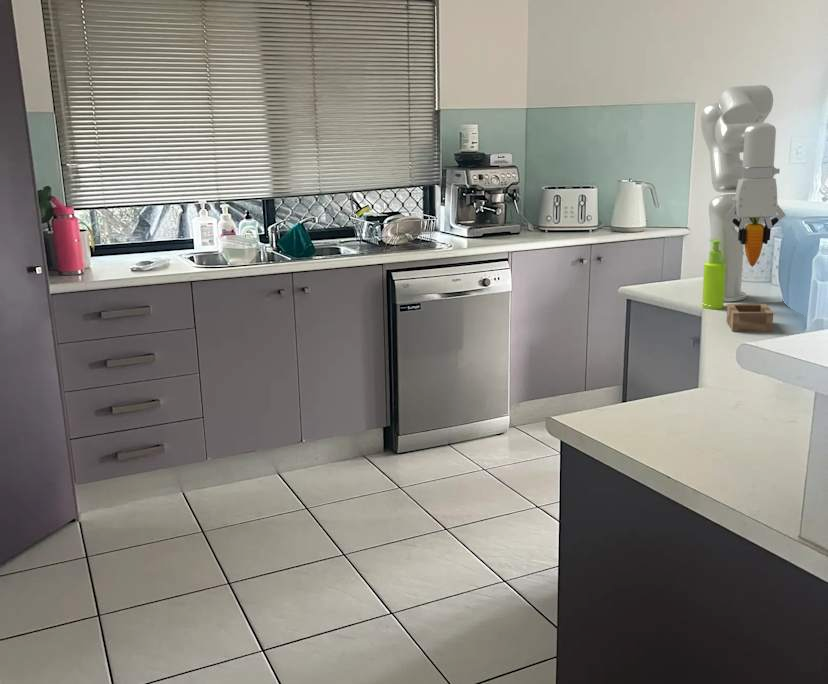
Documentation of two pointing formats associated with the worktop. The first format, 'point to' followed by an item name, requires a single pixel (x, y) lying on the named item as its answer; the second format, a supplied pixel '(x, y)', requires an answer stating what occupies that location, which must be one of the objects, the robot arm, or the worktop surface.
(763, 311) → the holder
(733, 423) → the worktop surface
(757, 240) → the carrot
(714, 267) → the soap dispenser
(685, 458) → the worktop surface
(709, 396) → the worktop surface
